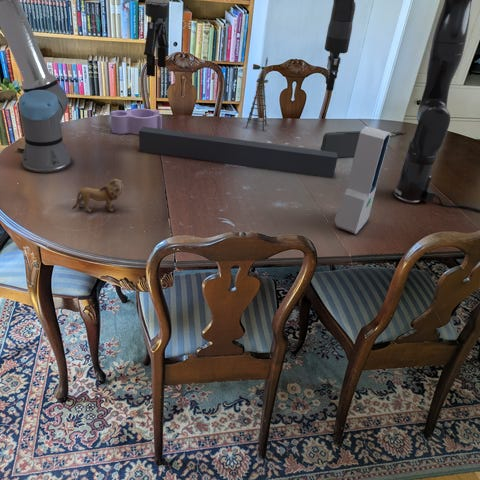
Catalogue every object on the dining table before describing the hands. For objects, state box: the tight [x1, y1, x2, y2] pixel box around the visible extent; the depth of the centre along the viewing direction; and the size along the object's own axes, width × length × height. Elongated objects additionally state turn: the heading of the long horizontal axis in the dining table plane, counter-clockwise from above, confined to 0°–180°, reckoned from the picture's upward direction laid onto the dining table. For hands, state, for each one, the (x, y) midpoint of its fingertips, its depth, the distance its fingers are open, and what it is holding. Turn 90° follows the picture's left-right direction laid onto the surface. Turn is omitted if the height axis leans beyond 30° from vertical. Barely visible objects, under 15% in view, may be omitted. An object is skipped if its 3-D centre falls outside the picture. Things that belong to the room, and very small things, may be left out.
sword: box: [390, 131, 407, 137], centre depth 214 cm, size 31×3×1 cm, turn 126°
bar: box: [138, 127, 338, 179], centre depth 174 cm, size 73×5×8 cm, turn 83°
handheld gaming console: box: [320, 130, 362, 158], centre depth 188 cm, size 23×3×10 cm, turn 108°
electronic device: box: [334, 125, 392, 235], centre depth 136 cm, size 12×8×30 cm, turn 148°
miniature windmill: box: [245, 57, 269, 131], centre depth 203 cm, size 9×8×30 cm
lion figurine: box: [71, 178, 124, 213], centre depth 135 cm, size 15×5×9 cm, turn 110°
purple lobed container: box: [109, 107, 163, 136], centre depth 192 cm, size 20×12×7 cm, turn 109°
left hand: (156, 71), depth 162 cm, fingers open, 13 cm apart
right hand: (329, 87), depth 158 cm, fingers open, 8 cm apart
